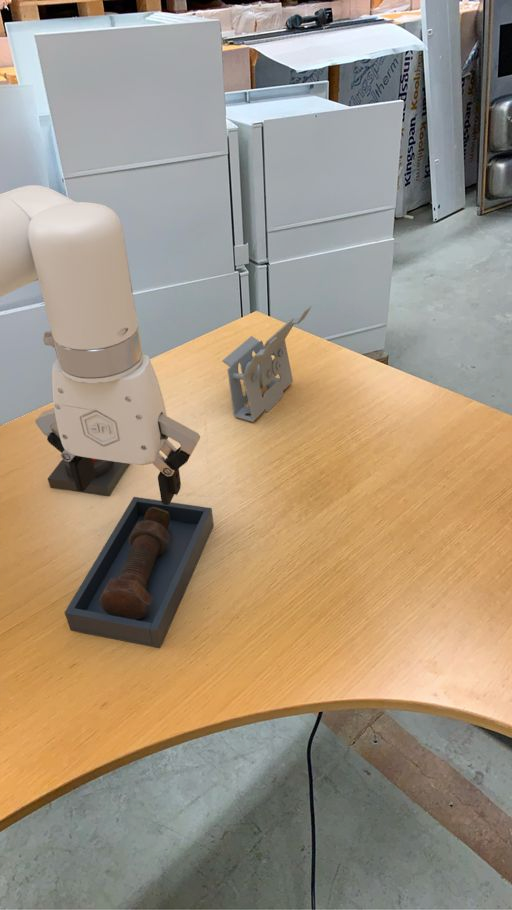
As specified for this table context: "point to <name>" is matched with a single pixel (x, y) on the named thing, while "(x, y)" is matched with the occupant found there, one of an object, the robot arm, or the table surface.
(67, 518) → the table surface
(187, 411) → the table surface
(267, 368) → the bracket
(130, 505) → the tray
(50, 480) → the station
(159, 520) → the bolt
